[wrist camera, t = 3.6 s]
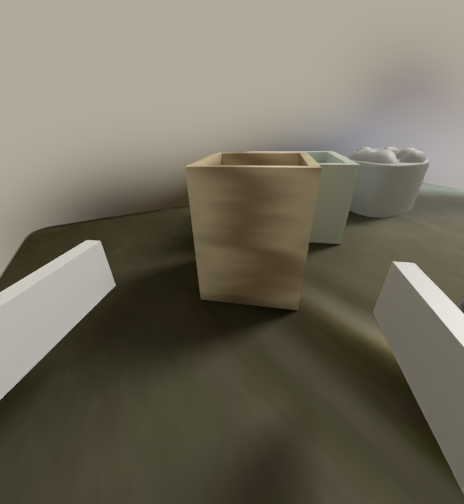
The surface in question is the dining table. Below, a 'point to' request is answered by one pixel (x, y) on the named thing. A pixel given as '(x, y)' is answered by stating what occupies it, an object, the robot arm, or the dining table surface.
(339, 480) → the dining table surface
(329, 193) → the pale green square box
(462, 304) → the ceramic mug
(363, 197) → the lumpy-topped squat cylinder
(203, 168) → the birch crate
